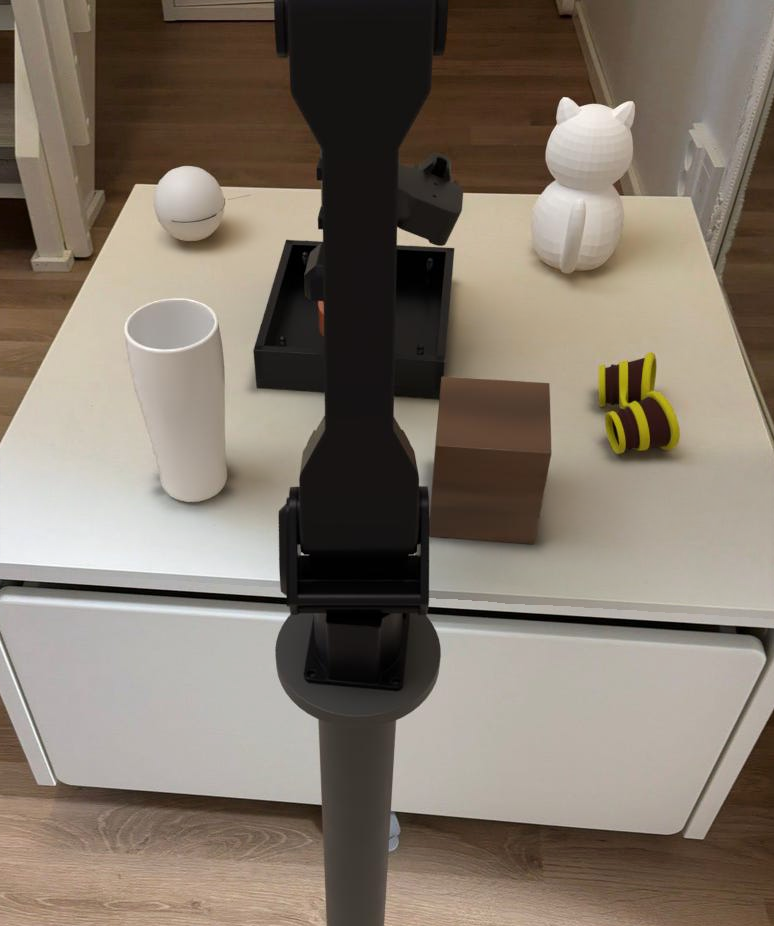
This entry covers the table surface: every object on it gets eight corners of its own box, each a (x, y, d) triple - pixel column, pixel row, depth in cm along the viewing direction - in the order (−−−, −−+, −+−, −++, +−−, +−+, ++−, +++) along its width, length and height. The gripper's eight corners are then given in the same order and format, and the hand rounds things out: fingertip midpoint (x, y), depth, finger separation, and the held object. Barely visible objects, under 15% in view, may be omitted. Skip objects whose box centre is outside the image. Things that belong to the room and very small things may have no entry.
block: (534, 544, 77) (551, 453, 70) (427, 536, 78) (435, 445, 71) (533, 473, 82) (549, 382, 76) (433, 466, 83) (441, 375, 77)
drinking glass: (157, 456, 85) (128, 297, 74) (238, 454, 85) (222, 295, 74) (148, 513, 80) (116, 353, 69) (234, 511, 80) (216, 350, 69)
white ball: (155, 256, 106) (144, 188, 101) (162, 220, 111) (152, 153, 105) (251, 254, 106) (246, 186, 100) (254, 217, 111) (249, 151, 105)
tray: (441, 399, 89) (445, 361, 86) (256, 388, 91) (253, 350, 88) (451, 284, 101) (454, 247, 98) (287, 276, 103) (285, 239, 100)
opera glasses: (593, 397, 90) (591, 350, 86) (655, 387, 89) (656, 339, 86) (612, 470, 84) (611, 423, 80) (679, 460, 83) (681, 412, 79)
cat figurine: (616, 231, 107) (647, 83, 96) (616, 297, 99) (650, 143, 88) (529, 224, 109) (550, 78, 97) (522, 288, 100) (544, 136, 89)
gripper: (456, 205, 72) (441, 386, 84) (465, 94, 85) (451, 265, 96) (300, 199, 73) (307, 377, 85) (331, 90, 86) (334, 259, 97)
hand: (355, 316), depth 91 cm, fingers closed on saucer, 7 cm apart
